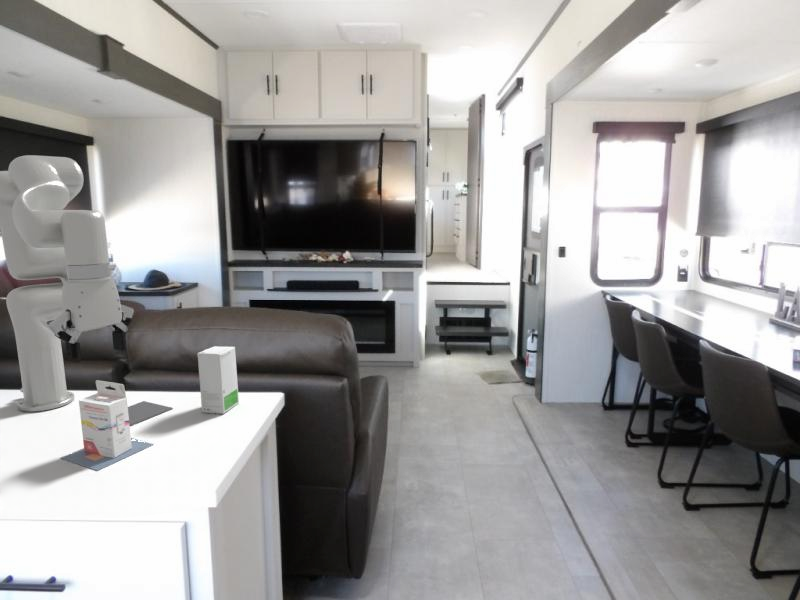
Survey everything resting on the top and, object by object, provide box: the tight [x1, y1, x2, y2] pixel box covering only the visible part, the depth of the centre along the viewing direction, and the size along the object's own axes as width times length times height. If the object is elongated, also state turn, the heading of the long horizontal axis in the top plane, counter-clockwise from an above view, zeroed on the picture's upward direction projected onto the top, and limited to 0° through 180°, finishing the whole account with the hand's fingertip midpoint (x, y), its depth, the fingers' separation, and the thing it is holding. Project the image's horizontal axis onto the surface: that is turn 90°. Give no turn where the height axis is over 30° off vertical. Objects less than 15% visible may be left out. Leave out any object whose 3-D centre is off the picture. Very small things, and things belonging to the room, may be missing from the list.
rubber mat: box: [128, 400, 174, 427], centre depth 134 cm, size 11×12×1 cm
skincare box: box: [196, 346, 240, 415], centre depth 136 cm, size 8×7×16 cm
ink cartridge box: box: [78, 379, 132, 458], centre depth 112 cm, size 9×5×15 cm, turn 71°
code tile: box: [60, 437, 154, 472], centre depth 113 cm, size 12×13×1 cm
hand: (98, 355), depth 109 cm, fingers open, 9 cm apart
